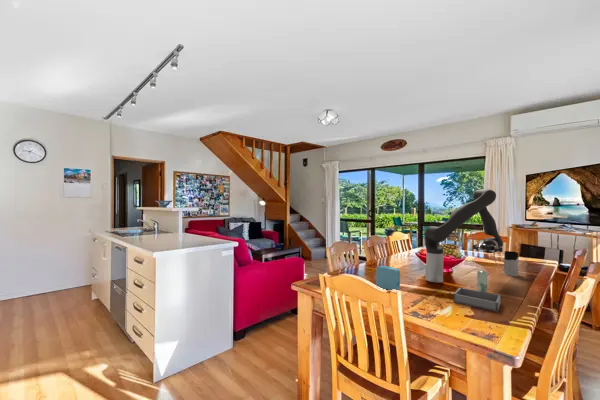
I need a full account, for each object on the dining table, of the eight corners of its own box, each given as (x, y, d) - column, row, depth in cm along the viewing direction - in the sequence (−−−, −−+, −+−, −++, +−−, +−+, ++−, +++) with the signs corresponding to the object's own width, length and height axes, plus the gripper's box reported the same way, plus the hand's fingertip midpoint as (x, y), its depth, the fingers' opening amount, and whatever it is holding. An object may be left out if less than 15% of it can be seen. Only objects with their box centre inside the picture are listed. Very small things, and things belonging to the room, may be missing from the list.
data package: (399, 290, 153) (400, 268, 153) (396, 292, 150) (396, 270, 150) (380, 285, 162) (380, 264, 162) (375, 287, 158) (376, 266, 158)
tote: (453, 302, 137) (453, 294, 137) (459, 295, 147) (459, 287, 147) (497, 311, 125) (497, 302, 125) (500, 303, 136) (500, 295, 136)
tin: (476, 294, 148) (476, 271, 148) (477, 292, 152) (478, 270, 151) (486, 296, 145) (486, 273, 145) (487, 294, 149) (487, 271, 149)
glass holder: (519, 276, 184) (520, 253, 184) (493, 273, 191) (493, 251, 191) (518, 273, 191) (518, 251, 191) (493, 270, 199) (493, 249, 199)
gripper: (476, 238, 175) (471, 241, 163) (504, 241, 166) (501, 244, 154) (476, 250, 175) (471, 254, 163) (504, 253, 166) (501, 258, 154)
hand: (486, 249), depth 158 cm, fingers open, 8 cm apart
